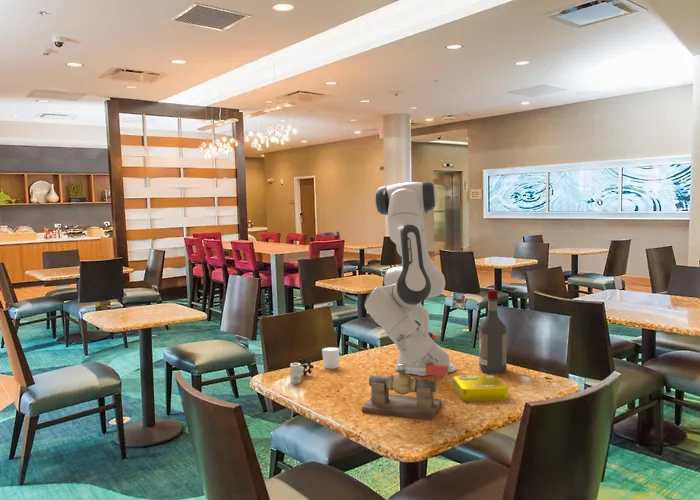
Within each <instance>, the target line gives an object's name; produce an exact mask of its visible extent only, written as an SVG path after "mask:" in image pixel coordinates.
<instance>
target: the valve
mask: <svg viewBox="0 0 700 500" xmlns="http://www.w3.org/2000/svg"><path fill="white" fill-rule="evenodd" d="M312 362H313V361H312V359H309V360H307V357H303V358H302V359H301V358H300V359H298V362H293V363H292V362H291V363H290V365H289V368H290V371H289V377H290V384H293V385H296V384H297V385H298V384H300V383H302V375H303V376H307V375H308V374H309V375H310V374H312V373H313V371H312V369H314V366H315V365H313V364H311V363H312ZM303 363H304V364H303ZM306 363H307V364H306Z"/></svg>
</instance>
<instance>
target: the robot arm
mask: <svg viewBox="0 0 700 500" xmlns="http://www.w3.org/2000/svg"><path fill="white" fill-rule="evenodd" d="M373 200H374V205H375V208H376V210H377V212H378V213H380V214H381V215H385V216H387V230H388V235H389V239H390V240H391V241H392V243H394V244H395V246H396V247H395V248H396V252H397V254H398V255H399V256H400V257H401V264H402V265H399V266H394V267H393V266H392V267H390V268H389V269H387V270H386V271H385V273H384V278H383V283H384V285H383V286H382V285H381V286H379V285H376V286H375V287H374V288H373V289H372V290H371V291H370V292H369V293H368V295H367V296H366V297H365V300H364V308H365V310H366V312H367V313H368V314H369V316H370V317H371V318H372V319H373V320H374V322H375V323H376V324H377V325H379V326H380V327H381V328H382V329H383V330H384V331H385V334H386V336H388V337H389V339H390V340H391V341H392V342H393V343H394V345H396V346H397V348H398V356H397V362H396V366H395V370H396V371H397V364H398V363H406V364H407V365H410V366H422V367H426V364H427V363H430V364H443V365H448V373H452V372H453V373H454V372H456V369H457V368H456V366H455V364H454V363H452V362H451V361H450V357H449V354H448V352H447V351H446V350H445V349H444V348H443V347H441V346H440V345H438V344H437V343H436V342H435V341H437V340H438V339H439V336H438V335H437V334H436V333H432V332H430V314H429V311H428V309H427V308H426V307H424V305H422V302H423V301H425V300H426V299H427V298H433V297H439V296H440V295H441V294H442V293H444V290H445V288H446V279H445V278H446V277H445V276H444V273H443V272H442V271H441V270H440V269H438V267H437V266H436V265H435V263H434V262H433V261H432V259H431V257H430V254H429V251H428V247H427V239H426V229H425V220H424V219H425V218H424V215H423V212H424V214H425V215H427V214H428V212H430V211H432V210H433V209H434V208H435V207H436V204H437V201H438V192H437V189H436V187H435V185H434V184H433V182H431V181H426V180H425V181H422V182H421V181H420V182H419V181H408V182H407V181H405V182H402V183H395V184H390V185H382V186H379V187H378V188H377V189H376V191H375V194H374V199H373ZM405 373H406V374H408V375H416V376H421V377H424V376H427V375H426V372H424V371H413V370H407V371H405Z"/></svg>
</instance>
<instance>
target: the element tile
mask: <svg viewBox="0 0 700 500" xmlns="http://www.w3.org/2000/svg"><path fill="white" fill-rule="evenodd" d="M452 390H453V391H454V393H455V394H456V395H457V396H458V398H459V399H460V400H461V401H463V402H471V403H472V402H493V401H494V402H495V401H496V402H497V401H507V400H509V386H508V385H507V384H506V383H505V382H504V381H502V380H501V379H500V378H499V377H498V376H496V375H494V374H482V375H481V374H477V375H473V374H472V375H465V374H463V375H454V376H453V377H452Z"/></svg>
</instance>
